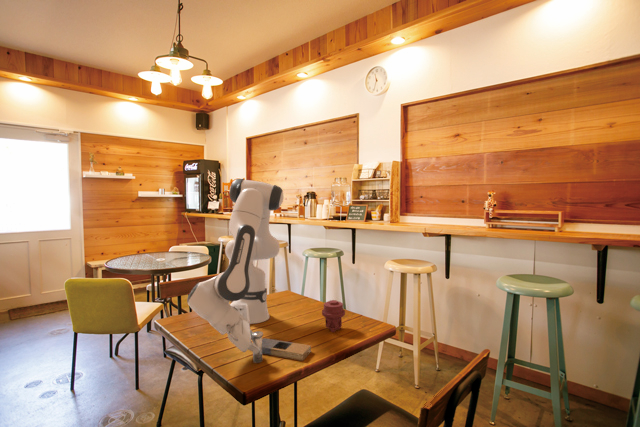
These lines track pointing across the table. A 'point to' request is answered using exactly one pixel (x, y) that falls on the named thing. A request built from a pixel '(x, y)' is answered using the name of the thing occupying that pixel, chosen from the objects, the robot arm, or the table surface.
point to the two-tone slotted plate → (291, 351)
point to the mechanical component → (333, 314)
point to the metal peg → (257, 342)
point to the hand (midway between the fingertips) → (257, 345)
